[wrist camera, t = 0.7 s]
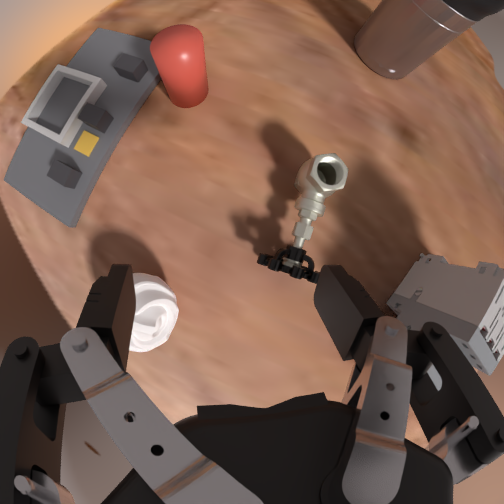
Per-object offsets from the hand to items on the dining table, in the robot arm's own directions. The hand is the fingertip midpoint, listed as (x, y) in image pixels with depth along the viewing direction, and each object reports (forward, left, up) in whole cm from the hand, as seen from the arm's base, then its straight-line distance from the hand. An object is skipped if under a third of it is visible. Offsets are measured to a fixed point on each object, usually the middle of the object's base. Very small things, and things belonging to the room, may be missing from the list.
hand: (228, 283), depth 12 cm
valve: (-7, +5, -19) cm, 21 cm away
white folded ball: (+9, -5, -19) cm, 22 cm away
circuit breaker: (-4, +24, -19) cm, 31 cm away
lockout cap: (-14, -13, -19) cm, 27 cm away
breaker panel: (-6, -24, -19) cm, 31 cm away
